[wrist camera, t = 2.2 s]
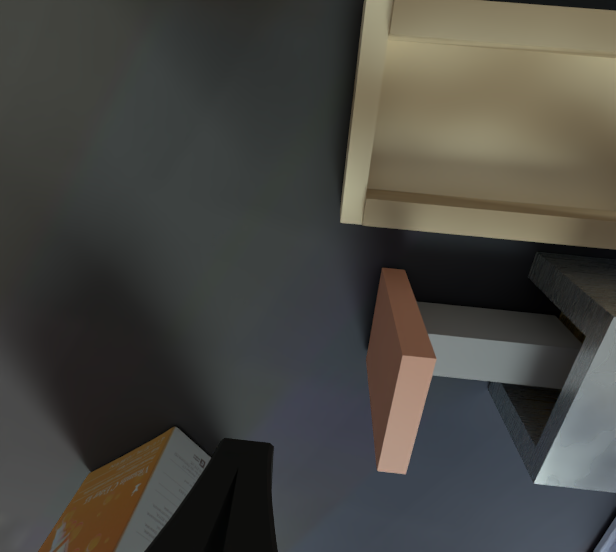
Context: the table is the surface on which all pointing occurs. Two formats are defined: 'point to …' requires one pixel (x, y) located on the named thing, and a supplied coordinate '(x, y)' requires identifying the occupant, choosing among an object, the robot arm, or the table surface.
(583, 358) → the socket sleeve
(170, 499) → the small box
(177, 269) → the table surface
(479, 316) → the salmon pink block
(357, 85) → the beige tray
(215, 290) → the table surface
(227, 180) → the table surface
